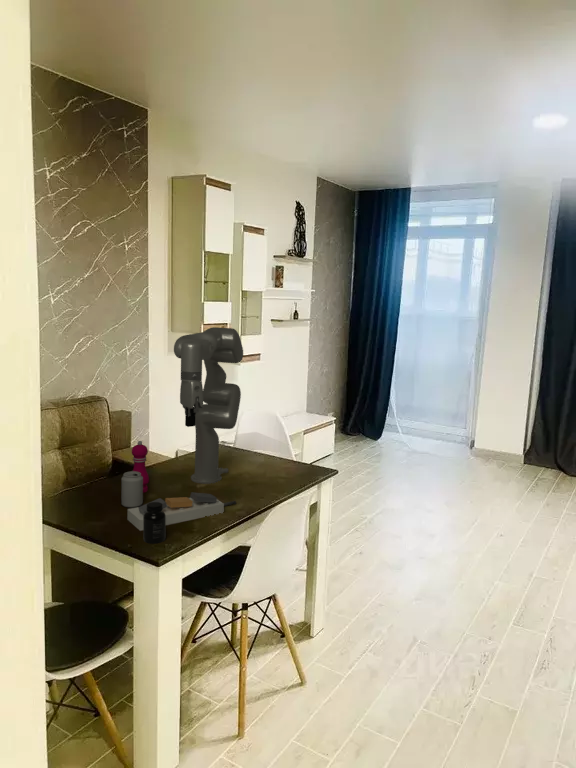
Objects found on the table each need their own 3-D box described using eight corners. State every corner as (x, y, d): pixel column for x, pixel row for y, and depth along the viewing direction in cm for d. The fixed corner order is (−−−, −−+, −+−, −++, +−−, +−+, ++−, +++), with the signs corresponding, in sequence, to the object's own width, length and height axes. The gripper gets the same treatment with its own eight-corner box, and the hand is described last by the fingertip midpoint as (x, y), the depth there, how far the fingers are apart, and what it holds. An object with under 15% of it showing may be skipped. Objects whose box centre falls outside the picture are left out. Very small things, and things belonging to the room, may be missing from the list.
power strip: (227, 500, 226) (228, 489, 225) (242, 510, 217) (243, 498, 216) (127, 520, 203) (127, 507, 202) (139, 531, 194) (140, 518, 194)
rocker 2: (185, 502, 210) (186, 497, 210) (191, 506, 206) (192, 501, 206) (164, 503, 205) (165, 498, 205) (170, 507, 202) (171, 502, 201)
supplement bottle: (167, 537, 192) (168, 501, 190) (162, 546, 185) (163, 509, 183) (146, 535, 192) (146, 499, 190) (140, 544, 185) (140, 507, 183)
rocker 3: (209, 498, 215) (210, 493, 215) (215, 502, 212) (217, 497, 212) (190, 497, 211) (191, 492, 211) (196, 501, 207) (197, 496, 207)
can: (145, 507, 216) (145, 475, 214) (124, 510, 212) (124, 477, 210) (139, 500, 222) (139, 469, 220) (119, 503, 218) (119, 471, 216)
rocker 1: (161, 502, 204) (160, 497, 204) (167, 506, 201) (165, 502, 200) (139, 512, 200) (138, 507, 200) (144, 516, 196) (143, 511, 196)
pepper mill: (125, 491, 230) (125, 441, 227) (138, 486, 237) (138, 437, 234) (140, 495, 227) (140, 444, 224) (152, 490, 234) (153, 440, 230)
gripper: (210, 378, 211) (209, 429, 214) (191, 372, 223) (190, 420, 226) (191, 379, 207) (190, 431, 210) (172, 373, 219) (171, 422, 221)
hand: (190, 425), depth 218 cm, fingers closed
